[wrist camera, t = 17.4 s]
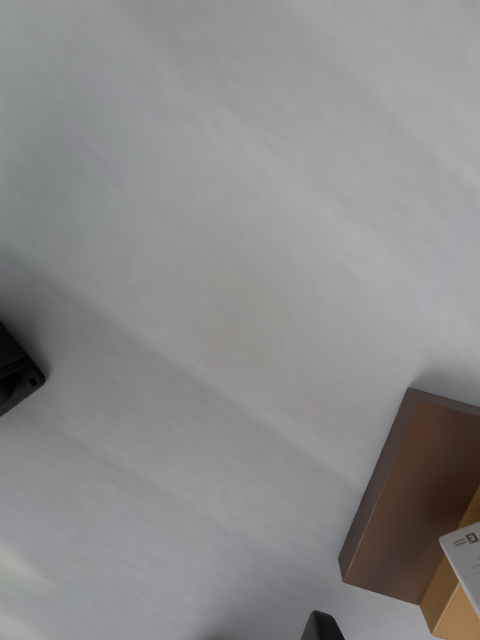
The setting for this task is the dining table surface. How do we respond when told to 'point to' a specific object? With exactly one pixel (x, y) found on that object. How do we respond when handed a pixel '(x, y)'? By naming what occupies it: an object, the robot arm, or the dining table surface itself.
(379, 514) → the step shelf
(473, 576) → the white packaging box
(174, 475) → the dining table surface
